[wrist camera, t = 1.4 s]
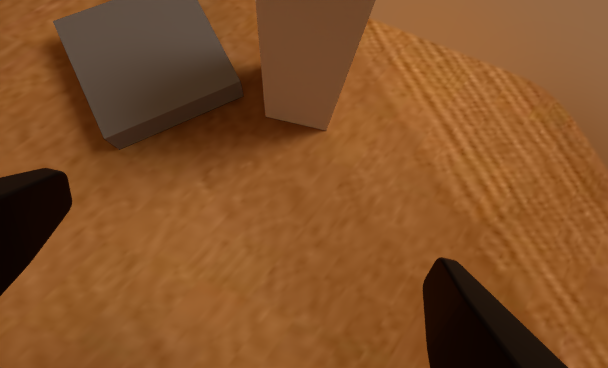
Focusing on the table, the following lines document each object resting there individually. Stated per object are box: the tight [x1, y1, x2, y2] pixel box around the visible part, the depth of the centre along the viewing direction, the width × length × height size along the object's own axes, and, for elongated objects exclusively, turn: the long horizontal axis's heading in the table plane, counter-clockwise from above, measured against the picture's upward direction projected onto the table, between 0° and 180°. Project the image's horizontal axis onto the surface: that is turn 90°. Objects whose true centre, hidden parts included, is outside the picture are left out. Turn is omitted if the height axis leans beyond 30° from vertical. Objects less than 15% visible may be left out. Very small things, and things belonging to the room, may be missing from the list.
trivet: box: [53, 0, 243, 150], centre depth 22 cm, size 9×9×2 cm
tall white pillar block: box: [256, 0, 375, 130], centre depth 17 cm, size 4×4×13 cm
